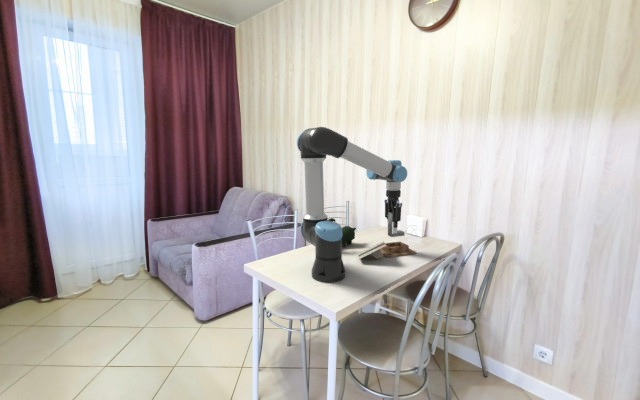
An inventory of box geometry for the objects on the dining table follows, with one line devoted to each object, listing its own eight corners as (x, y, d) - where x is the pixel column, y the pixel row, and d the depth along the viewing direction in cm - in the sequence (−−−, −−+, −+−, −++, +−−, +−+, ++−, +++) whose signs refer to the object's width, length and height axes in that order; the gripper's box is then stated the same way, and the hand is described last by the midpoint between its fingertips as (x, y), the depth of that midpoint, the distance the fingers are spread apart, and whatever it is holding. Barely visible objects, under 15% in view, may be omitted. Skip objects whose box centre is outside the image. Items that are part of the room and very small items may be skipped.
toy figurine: (331, 255, 163) (362, 242, 179) (329, 222, 159) (361, 212, 175) (320, 251, 170) (350, 239, 186) (318, 219, 166) (349, 209, 182)
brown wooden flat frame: (387, 257, 155) (387, 250, 154) (374, 249, 168) (374, 242, 167) (416, 253, 161) (416, 246, 160) (401, 246, 174) (401, 239, 173)
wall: (369, 273, 145) (393, 253, 144) (358, 259, 146) (381, 239, 144) (368, 265, 161) (389, 248, 160) (357, 253, 162) (379, 235, 161)
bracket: (391, 237, 160) (392, 213, 158) (387, 235, 164) (388, 212, 162) (404, 235, 163) (405, 212, 160) (400, 233, 166) (401, 210, 164)
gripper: (409, 191, 151) (407, 235, 155) (390, 187, 167) (389, 227, 171) (396, 191, 149) (394, 237, 153) (378, 188, 165) (377, 229, 169)
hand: (392, 232), depth 162 cm, fingers closed on bracket, 4 cm apart
